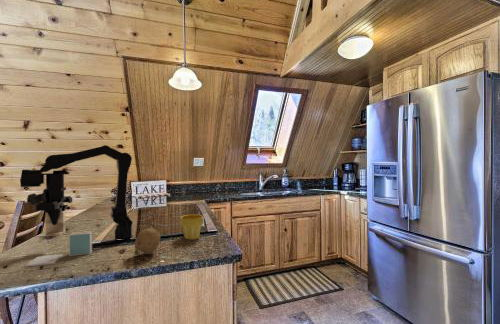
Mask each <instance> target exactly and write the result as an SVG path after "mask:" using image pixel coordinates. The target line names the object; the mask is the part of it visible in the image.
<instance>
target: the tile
mask: <svg viewBox="0 0 500 324" xmlns="http://www.w3.org/2000/svg"><path fill="white" fill-rule="evenodd" d="M92 234H93V232H92V231H86V232H73V233H70V234H69V235H68V238H69V239H68V244H69V245H68V248H69V252H68V253H69V257H71V256H81V255H88V254H89V255H90V254H92V253H93V237H92V236H93V235H92Z"/></svg>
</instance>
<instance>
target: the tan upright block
mask: <svg viewBox="0 0 500 324" xmlns="http://www.w3.org/2000/svg"><path fill="white" fill-rule="evenodd" d="M64 233H66V210H65V211H61V213H60V216H59V219H58V221H57V224H56V225H53V224H52V222H51V219H50V217H49V215H48V213H47V212H45V234H44V235H45V237H53V236H54V237H55V236H56V237H57V236H62V235H63V234H64Z"/></svg>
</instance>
